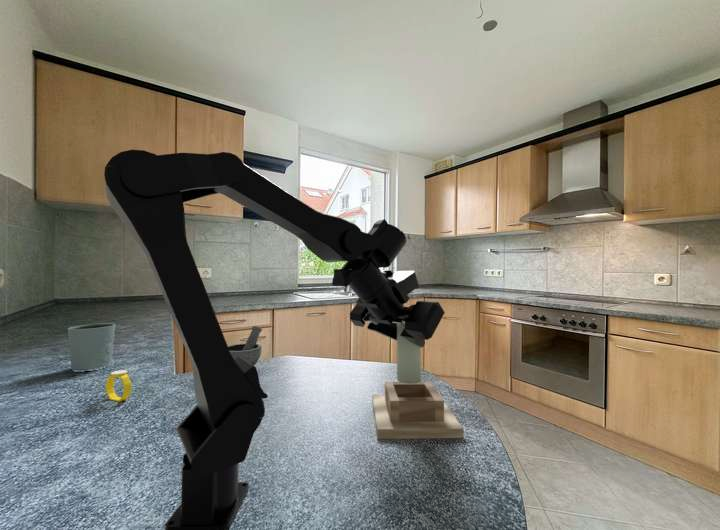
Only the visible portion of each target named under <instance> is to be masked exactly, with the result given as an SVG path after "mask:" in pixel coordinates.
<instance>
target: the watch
mask: <svg viewBox="0 0 720 530" xmlns="http://www.w3.org/2000/svg"><path fill="white" fill-rule="evenodd" d="M116 378H119V379H120V380H121V383H122V385H123V393H122V396H118V394H117V393H116V392H115V388H114V384H115V383H114V382H115V379H116ZM105 391H106V396H107V397H108V399H109V400H110V401H114V402H118V403H120V402H122V401H127V399H128V398H129V397H130V396H131V392H132V381H131V378H130V377H129V375H128V370H127V369H120V370H115V371H112V372H111V373H110V375H109V376H108V378H107V380H106V382H105Z"/></svg>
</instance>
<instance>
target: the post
mask: <svg viewBox="0 0 720 530" xmlns="http://www.w3.org/2000/svg"><path fill="white" fill-rule="evenodd" d="M404 325H405V324H404V322H403V321H402V322H401V323H400V324H398V323H397V341H396V380H397V382H402V383H407V384H414V383H419V382H422V379H421V378H422V375H421V374H422V373H421V370H422V369H421V368H422V366H421V365H422V363H421V362H422V360H421V354H422V353H421V352H422V351H421V350H422V349H421V348H422V347H419V346H417V345H416V344H414V343H412V342H410V341H409V340H407V339H405V338H403V337H402V336H400V335H401V333H402V331H403V330H404V328H405V326H404Z"/></svg>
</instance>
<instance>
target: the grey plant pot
mask: <svg viewBox="0 0 720 530" xmlns="http://www.w3.org/2000/svg"><path fill="white" fill-rule="evenodd" d="M115 330H116V323H112V322H111V323H110V322H103V323H102V322H101V323H89V324H82V325H75V326H71V327H68V328H67V335H68V343H69V344H68V347H69V348H68V349H69V357H70V359H69V360H70V370H71V369H72V370H88V369H95V368H100V367H104V366H106V365H109V364H110V363H112V364H113V353H114V352H113V351H114V343H115V342H114V341H115V333H116V331H115Z"/></svg>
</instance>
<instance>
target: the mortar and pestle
mask: <svg viewBox="0 0 720 530" xmlns="http://www.w3.org/2000/svg"><path fill="white" fill-rule="evenodd" d="M262 331H263V330H262V328H261V327H260V326H256V325H254V326H252V327H251V331H250V334H249V336H248V338H247V340H246V342H245V343H238V344H237V343H236V344H235V343H234V344H232V345H227V346H228V348H229V351H230V353H231V356H232V357H233V359H236V358H237V357H241V358H242V359H244V360H246V361H247V362H249V363H250V364H252V365H253V366H255V365H256V364H257V363H258V362H259V360H260V357H261V354H262V345H261V344H258V343H257V342H258V339H259V336H260V333H262Z"/></svg>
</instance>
